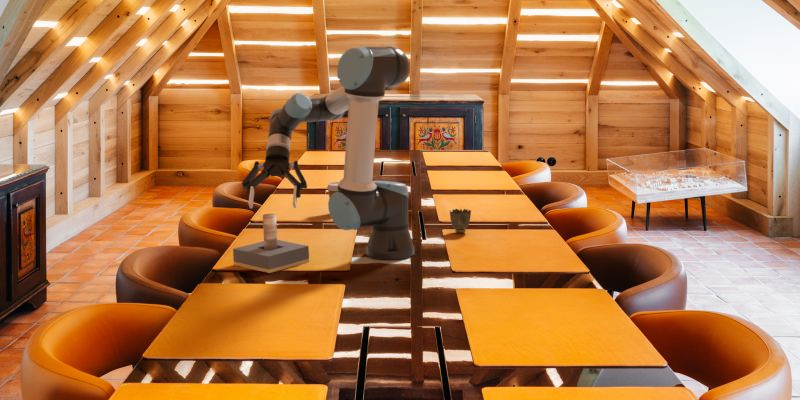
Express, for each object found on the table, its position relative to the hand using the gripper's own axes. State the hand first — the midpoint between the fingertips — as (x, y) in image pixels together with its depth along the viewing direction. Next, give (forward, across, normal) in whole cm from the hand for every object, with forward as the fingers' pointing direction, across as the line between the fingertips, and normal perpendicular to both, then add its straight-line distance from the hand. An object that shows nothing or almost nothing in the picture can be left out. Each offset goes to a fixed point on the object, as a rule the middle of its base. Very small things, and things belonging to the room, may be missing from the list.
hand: (272, 205), depth 253 cm
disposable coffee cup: (-37, -14, -61) cm, 73 cm away
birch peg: (+15, 0, -7) cm, 17 cm away
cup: (-12, -60, -36) cm, 70 cm away
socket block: (+16, 0, -7) cm, 18 cm away
